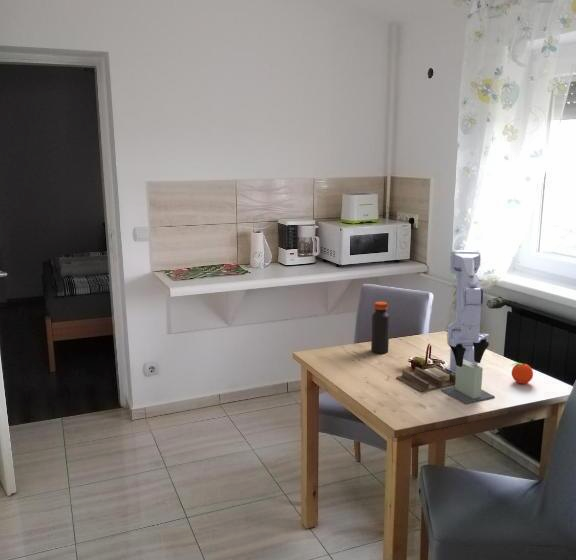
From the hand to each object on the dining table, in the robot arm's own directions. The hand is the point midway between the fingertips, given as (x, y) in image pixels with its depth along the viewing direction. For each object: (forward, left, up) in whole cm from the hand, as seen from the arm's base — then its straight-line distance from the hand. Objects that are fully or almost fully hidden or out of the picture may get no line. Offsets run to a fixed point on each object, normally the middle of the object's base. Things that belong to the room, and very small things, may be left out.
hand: (468, 363), depth 196 cm
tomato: (-23, +1, -11) cm, 25 cm away
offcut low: (+1, -14, -10) cm, 17 cm away
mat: (0, +1, -10) cm, 10 cm away
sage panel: (0, +1, -10) cm, 10 cm away
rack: (+5, -14, -10) cm, 18 cm away
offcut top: (+1, -14, -9) cm, 17 cm away
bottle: (+3, -48, -11) cm, 49 cm away
